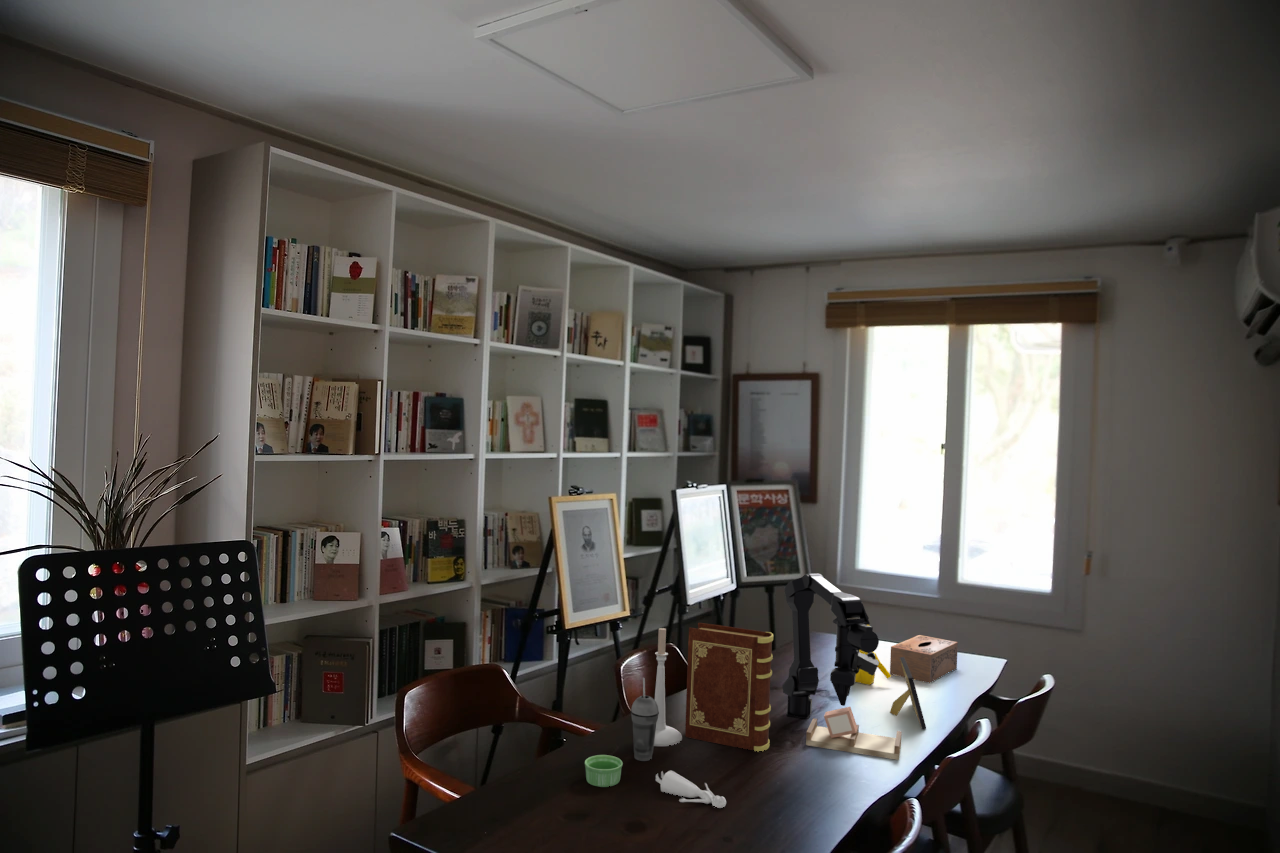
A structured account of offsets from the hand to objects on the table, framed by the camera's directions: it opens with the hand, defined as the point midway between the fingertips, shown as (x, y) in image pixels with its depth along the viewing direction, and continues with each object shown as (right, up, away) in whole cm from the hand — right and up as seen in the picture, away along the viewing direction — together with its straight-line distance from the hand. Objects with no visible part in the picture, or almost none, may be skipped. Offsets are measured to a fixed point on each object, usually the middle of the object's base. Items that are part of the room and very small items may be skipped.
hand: (844, 700), depth 229 cm
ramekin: (-65, -10, -30) cm, 72 cm away
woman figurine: (-44, -10, -37) cm, 59 cm away
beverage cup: (-55, -10, -15) cm, 58 cm away
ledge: (+2, -12, -1) cm, 12 cm away
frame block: (0, -9, 0) cm, 9 cm away
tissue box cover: (+47, -14, +74) cm, 89 cm away
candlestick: (-51, -10, -1) cm, 52 cm away
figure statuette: (+20, -13, +57) cm, 62 cm away
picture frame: (+24, -13, +25) cm, 37 cm away
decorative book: (-32, -11, -1) cm, 34 cm away
